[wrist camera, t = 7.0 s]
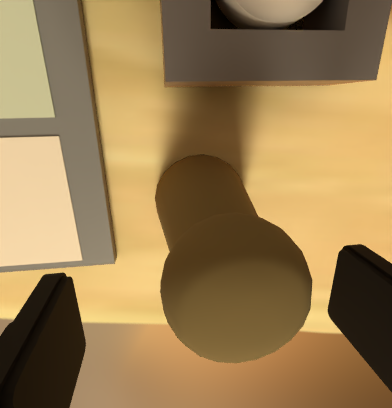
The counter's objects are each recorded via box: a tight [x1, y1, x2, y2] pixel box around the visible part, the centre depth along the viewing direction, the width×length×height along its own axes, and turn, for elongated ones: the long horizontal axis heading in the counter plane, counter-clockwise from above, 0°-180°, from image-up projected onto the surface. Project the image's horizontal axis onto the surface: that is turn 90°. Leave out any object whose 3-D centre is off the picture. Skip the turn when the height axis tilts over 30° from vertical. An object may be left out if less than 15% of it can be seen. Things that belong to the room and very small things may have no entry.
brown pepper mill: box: [155, 155, 312, 363], centre depth 13 cm, size 6×6×11 cm
